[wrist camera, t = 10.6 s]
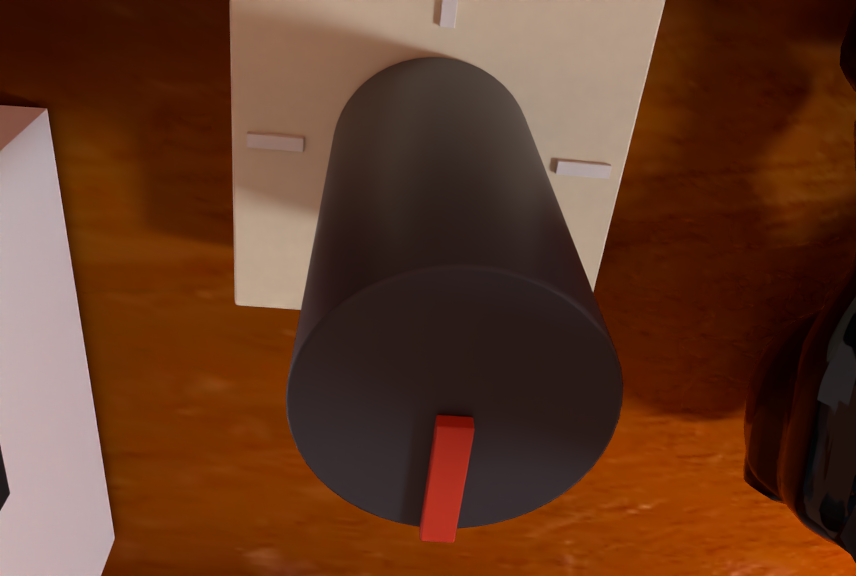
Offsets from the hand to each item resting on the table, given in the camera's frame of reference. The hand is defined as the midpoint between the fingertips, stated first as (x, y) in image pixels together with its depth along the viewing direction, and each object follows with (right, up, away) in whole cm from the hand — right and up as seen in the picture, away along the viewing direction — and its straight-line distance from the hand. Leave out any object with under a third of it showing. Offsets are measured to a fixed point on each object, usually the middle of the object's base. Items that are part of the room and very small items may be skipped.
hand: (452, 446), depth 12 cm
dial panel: (0, +7, +11) cm, 13 cm away
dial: (0, +6, +9) cm, 10 cm away
